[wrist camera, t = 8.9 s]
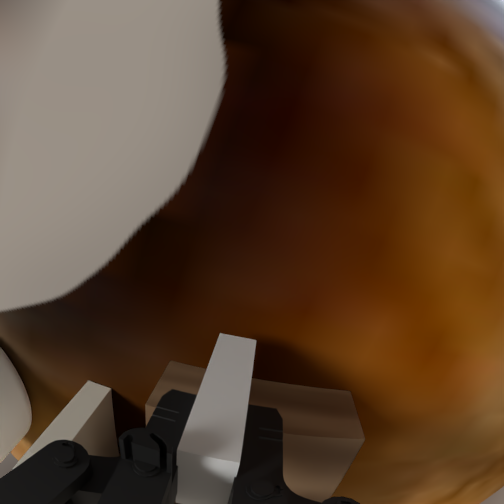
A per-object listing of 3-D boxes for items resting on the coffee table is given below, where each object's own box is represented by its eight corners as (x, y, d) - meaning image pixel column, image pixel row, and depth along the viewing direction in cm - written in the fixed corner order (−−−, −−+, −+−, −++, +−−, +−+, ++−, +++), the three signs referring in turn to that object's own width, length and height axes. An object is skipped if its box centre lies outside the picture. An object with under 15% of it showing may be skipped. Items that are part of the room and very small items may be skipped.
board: (172, 356, 15) (145, 404, 11) (348, 386, 15) (365, 439, 11) (168, 504, 18) (155, 541, 14) (281, 523, 18) (281, 562, 14)
